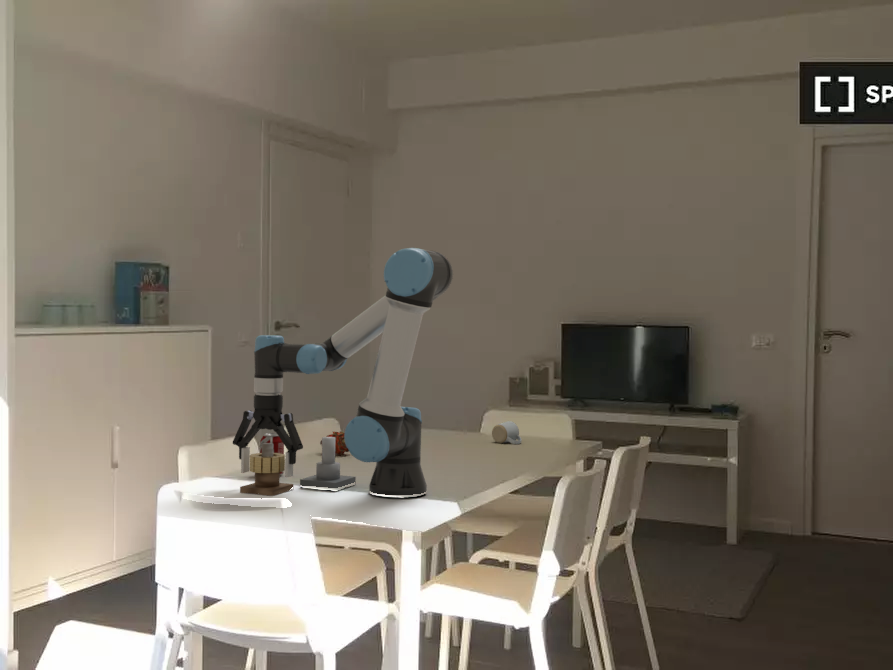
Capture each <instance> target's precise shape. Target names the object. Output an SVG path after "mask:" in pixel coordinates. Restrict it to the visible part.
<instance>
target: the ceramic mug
mask: <svg viewBox="0 0 893 670" xmlns="http://www.w3.org/2000/svg"><path fill="white" fill-rule="evenodd" d="M491 437H492V439H493V440H494V442H496V443H498V444H505V443H507V444H508V443H511V444H512V445H520V444H521V443H522V437H521V436H520V429H519V427H518V425H517V424H516V423H515V422H514V421H511V420H507V421H504V422H502V423H500V422H499V423H498V424H496V425H494V427H493V428H492V430H491Z"/></svg>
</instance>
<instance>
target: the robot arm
mask: <svg viewBox="0 0 893 670" xmlns="http://www.w3.org/2000/svg"><path fill="white" fill-rule="evenodd" d="M453 275H454V270H453V266H452V264H451V262H450V260H449V259H448V258H447V257H446V255H444V254H443V253H441V252H439V251H436V250H428V249H422V248H418V247H417V248H416V247H408V248H401V249H398V250H397V251H395V252H394V253H392V254H391V255H390V257H389V258H388V259H387V261H386V263H385V266H384V269H383V280H384V282H385V284H386V287H387V288H386V293H385V295H384V296H382V297H381V298H379V299H378V300H377V301H375V302H374V303H373V304H372V305H370V306H369V307H368V308H366V309H365V310H364V311H362V312H361V313H360V314H358V315H357V316H355V318H353V319H352V320H351V321H349V322H348V323H346V324H345V325H344V326H343V327H341V328H340V329H339V330H337V331H336V332H334V333H333V334H332V335H331V336H330V337H328V338H327V339H325V340H323V341H322V342H320V343H317V342H316V343H285V339H284V336H282V335H279V334H278V335H274V334H273V335H271V334H261V335H258V336H257V337H256V338H255V342H254V343H255V344H254V351H253V353H254V378H253V392H254V393H255V394H254V395H253V410H250V409H249V410H244V411H243V414H242V415H243V416H242V421H241V422H240V423H239V427H238V429H237V431H236V434H235V435H234V438H233V440H232V444H233V446H234V445H235V446H237V447H238V448H239V449H238V459H239V460H240V467H241V468H240V471H241V472H240V473H242V474H245V473H248V472H250V455H251V453H250V452H251V451H250V446H249V444H250V443H251V441H252V440H253V438H254V437H255V436H256V435H257V433H259V432H260V430H265V429H266V430H268V431H269V430H270V431H271V430H273V431H274V433H277V434H278V436H279V437H280V439H281V440H282V442H283V443H284V447H285V448H286V449H287V451H285V453H284V454H285V471H284V477H285V478H290V477H294V465H296V462H297V452H298V451H300V450H303V449H304V445H303V443H302V440H301V437H300V436H299V432H298V430H297V428H296V425H295V422H294V415H293V413H291V412H289V413H284V414H283V411H282V410H283V407H284V405H283V402H284V399H283V398H284V395H282V393H283V392H284V373H294V374H296V373H297V374H306V375H316V374H321V373H322V372H327V371H328V372H333V371H337V370H340V369H342V368H343V367H344V366H345V365H346V363H347V361H348V359H349V358H350V357H352V356H353V355H354V354H356V353H357V352H359V351H360V350H361V349H362V348H364V347H365V346H367V345H369V343H371V342H372V341H374V340H375V339H376V338H377V337H379V336H380V335H381V334H382V335H381V338H380V339H381V340H380V342H379V343H380V344H379V346H378V347H379V348H378V351H377V355H376V359H375V364H374V368H373V370H372V372H373V373H372V375H371V380H370V383H369V388H368V392H367V395H366V397H365V398H364V399H363V400H362V401H359V404H358V407H357V410H356V416H355V417H353V418H352V419H351V420H349V422H348V423H347V425H346V427H345V429H344V433H345V434H344V439H345V444H346V447H347V448H348V450H349V452H348V453H350V455H351V456H353V458H354V459H356V460H358V461H361V462H363V463H375V467H374V470H373V473H372V475H371V479H370V482H369V486H368V492H369V491H371V492H373V493H377V494H385V495H413V494H421V493H424V492H426V491H427V490H428V489H427V488H428V487H427V486H428V485H427V482H426V479H425V475H424V472H423V469H422V465H421V456H422V455H421V454H422V453H421V451H422V448H421V447H422V424H423V420H422V412H421V410H420V409H419V408H417V407H410V406H402V400H403V398H404V397H403V396H404V393H405V389H406V385H407V380H408V376H409V372H410V368H411V366H412V365H411V364H412V360H413V357H414V353H415V348H416V346H417V345H416V344H417V340H418V336H419V333H420V329H421V328H420V327H421V325H422V320H423V316H424V314H425V313H426V312H428V311H430V309H432V305H433V302H434V301H435V300H436V299H438V298H439V297H441V296H442V295H444V293H446V292H447V291H448V289H449V288H450V286H451V284H452V282H453V279H454V278H453ZM253 419H254V422H253V423H252V425H251V428H250V429H249V426H250V424H251V422H252V420H253ZM282 422H283V423H284V425H285V426H284V425H283V423H282ZM285 428H286V429H285ZM248 429H249V430H248ZM247 431H248V432H247ZM427 492H428V491H427Z"/></svg>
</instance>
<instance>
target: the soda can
mask: <svg viewBox="0 0 893 670" xmlns="http://www.w3.org/2000/svg"><path fill="white" fill-rule="evenodd" d="M259 442H260V443H259V444H260V445H259V446H260V447H259V453H262V444H263V443H273V453H280V454H285V445H284V443H283V442H282V440H281V439H280V437H279V436H278V434H277V433H276V432H266V433H262V437H261V439H260V441H259ZM284 474H285V471H283V472H280V475H284Z"/></svg>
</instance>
